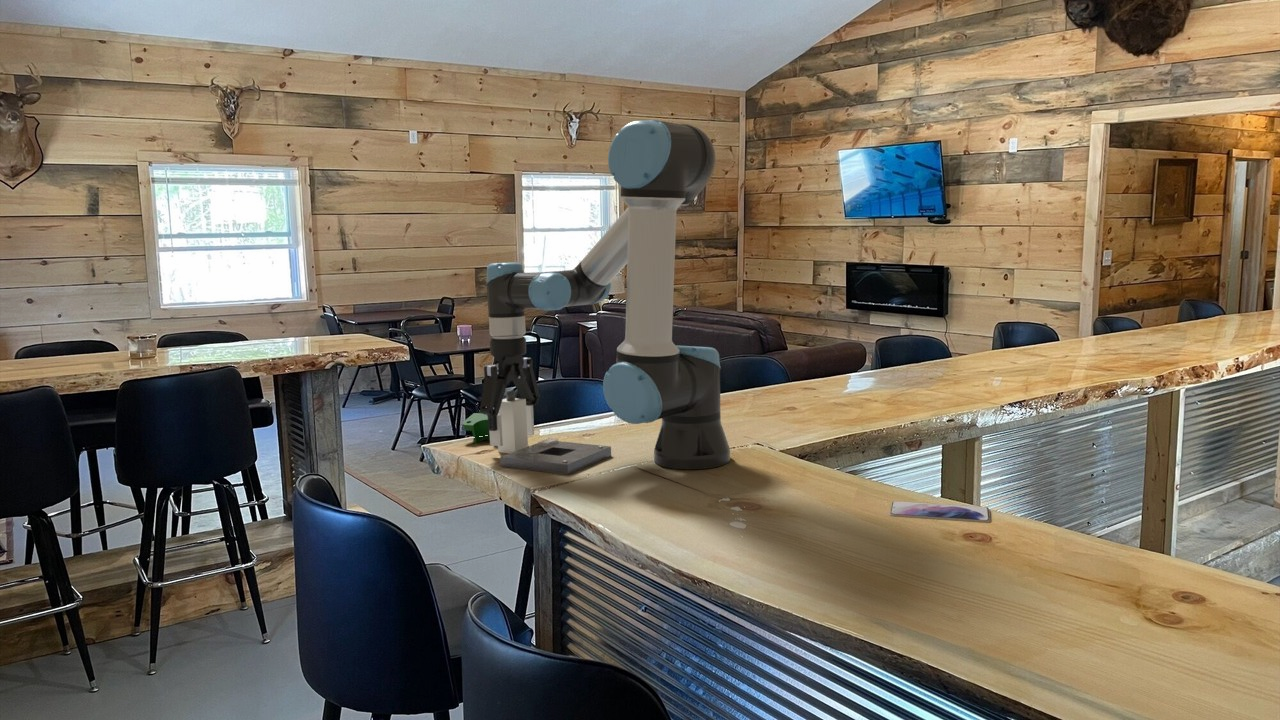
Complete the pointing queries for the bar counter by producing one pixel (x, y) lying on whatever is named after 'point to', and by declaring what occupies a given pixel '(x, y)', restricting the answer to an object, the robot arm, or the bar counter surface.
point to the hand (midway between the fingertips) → (512, 439)
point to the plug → (513, 423)
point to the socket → (556, 456)
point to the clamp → (477, 426)
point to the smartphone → (940, 511)
